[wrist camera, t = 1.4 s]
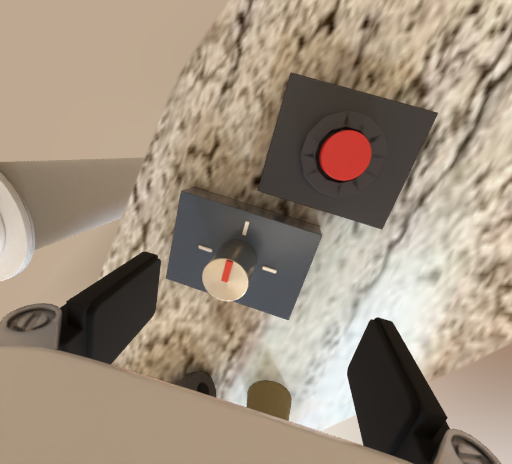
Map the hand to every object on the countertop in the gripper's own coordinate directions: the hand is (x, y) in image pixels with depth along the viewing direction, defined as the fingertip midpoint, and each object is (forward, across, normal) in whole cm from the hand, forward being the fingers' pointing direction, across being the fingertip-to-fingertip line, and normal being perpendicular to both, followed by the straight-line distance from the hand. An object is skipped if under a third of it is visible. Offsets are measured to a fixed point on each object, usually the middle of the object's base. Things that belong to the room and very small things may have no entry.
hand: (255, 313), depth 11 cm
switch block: (+16, -4, -7) cm, 18 cm away
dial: (+13, +3, +4) cm, 14 cm away
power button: (+13, -4, -7) cm, 15 cm away
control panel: (+16, +3, +4) cm, 17 cm away
